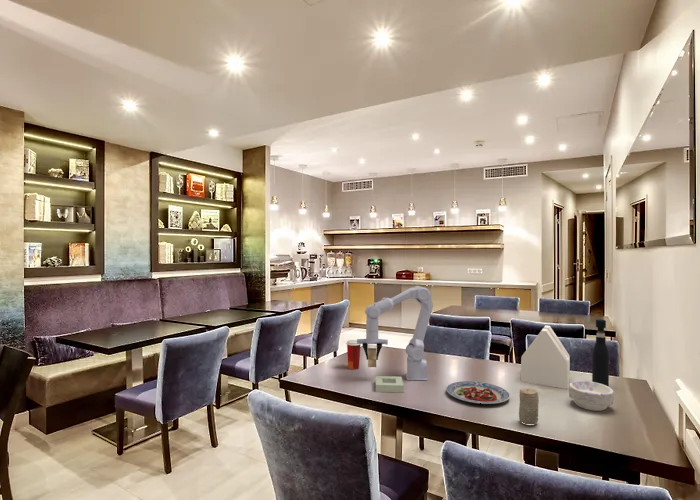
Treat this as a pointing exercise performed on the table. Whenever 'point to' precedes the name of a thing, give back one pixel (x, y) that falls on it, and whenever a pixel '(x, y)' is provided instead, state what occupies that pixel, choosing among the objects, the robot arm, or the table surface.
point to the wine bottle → (600, 356)
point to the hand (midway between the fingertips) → (372, 359)
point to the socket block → (389, 384)
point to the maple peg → (371, 357)
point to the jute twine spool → (528, 406)
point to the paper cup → (353, 354)
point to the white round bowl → (591, 395)
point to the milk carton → (546, 361)
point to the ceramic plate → (478, 392)
